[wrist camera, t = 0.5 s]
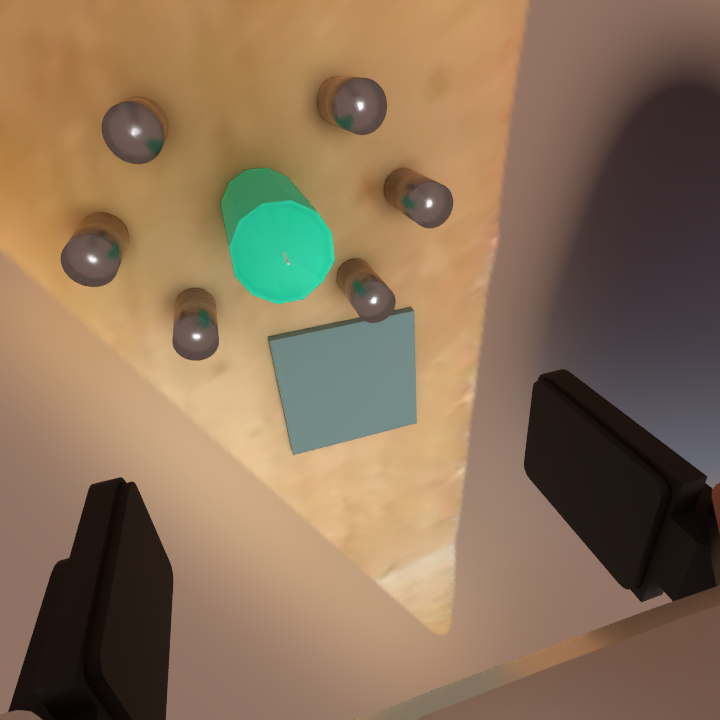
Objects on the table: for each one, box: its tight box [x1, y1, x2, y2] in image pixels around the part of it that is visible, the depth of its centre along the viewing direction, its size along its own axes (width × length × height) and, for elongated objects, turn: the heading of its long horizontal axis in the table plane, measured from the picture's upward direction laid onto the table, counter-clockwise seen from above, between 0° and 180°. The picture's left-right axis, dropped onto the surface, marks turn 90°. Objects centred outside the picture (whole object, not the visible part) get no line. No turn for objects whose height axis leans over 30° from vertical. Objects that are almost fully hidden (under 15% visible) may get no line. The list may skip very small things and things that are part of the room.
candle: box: [221, 168, 335, 304], centre depth 31 cm, size 6×6×12 cm
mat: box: [268, 307, 417, 455], centre depth 45 cm, size 13×13×1 cm
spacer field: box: [61, 76, 453, 360], centre depth 33 cm, size 16×25×6 cm, turn 96°
